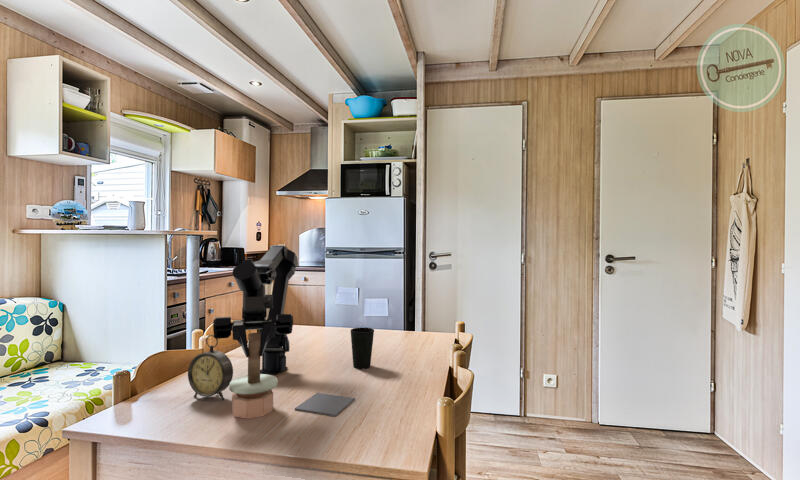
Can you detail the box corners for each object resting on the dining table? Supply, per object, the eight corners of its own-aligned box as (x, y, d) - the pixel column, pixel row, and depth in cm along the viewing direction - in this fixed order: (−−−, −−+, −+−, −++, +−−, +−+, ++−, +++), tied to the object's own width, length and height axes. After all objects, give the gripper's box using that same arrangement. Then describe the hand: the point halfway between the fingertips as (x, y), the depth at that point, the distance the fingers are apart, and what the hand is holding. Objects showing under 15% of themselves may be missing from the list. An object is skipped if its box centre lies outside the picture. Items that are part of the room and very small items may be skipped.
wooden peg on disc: (220, 386, 100) (220, 334, 99) (260, 375, 108) (260, 327, 108) (246, 398, 93) (247, 342, 93) (286, 384, 102) (287, 333, 102)
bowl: (224, 414, 98) (224, 397, 98) (249, 400, 106) (249, 385, 106) (256, 420, 95) (256, 402, 95) (279, 405, 103) (279, 389, 103)
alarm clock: (186, 398, 107) (187, 335, 107) (201, 391, 112) (202, 331, 112) (222, 403, 104) (223, 338, 104) (236, 396, 109) (237, 334, 109)
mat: (294, 409, 101) (294, 408, 101) (317, 394, 111) (317, 392, 111) (335, 416, 98) (335, 414, 98) (354, 399, 108) (354, 397, 108)
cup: (369, 371, 132) (370, 333, 132) (346, 369, 133) (347, 331, 133) (376, 363, 139) (376, 328, 139) (354, 362, 141) (354, 326, 141)
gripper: (214, 284, 101) (209, 340, 91) (293, 282, 107) (297, 334, 97) (216, 311, 108) (212, 366, 98) (289, 308, 115) (293, 359, 105)
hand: (254, 355), depth 99 cm, fingers closed on wooden peg on disc, 3 cm apart
